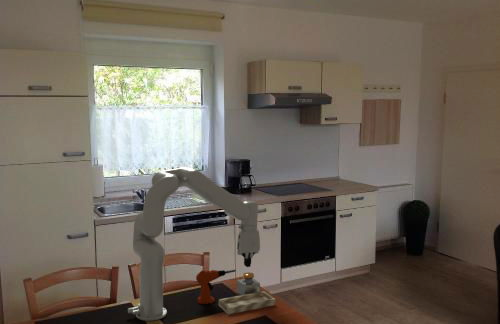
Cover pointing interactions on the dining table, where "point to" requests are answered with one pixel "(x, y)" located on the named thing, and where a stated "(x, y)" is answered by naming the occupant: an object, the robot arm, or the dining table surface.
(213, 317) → the dining table surface
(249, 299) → the marbled rectangular tray
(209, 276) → the toy drill
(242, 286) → the socket block
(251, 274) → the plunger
